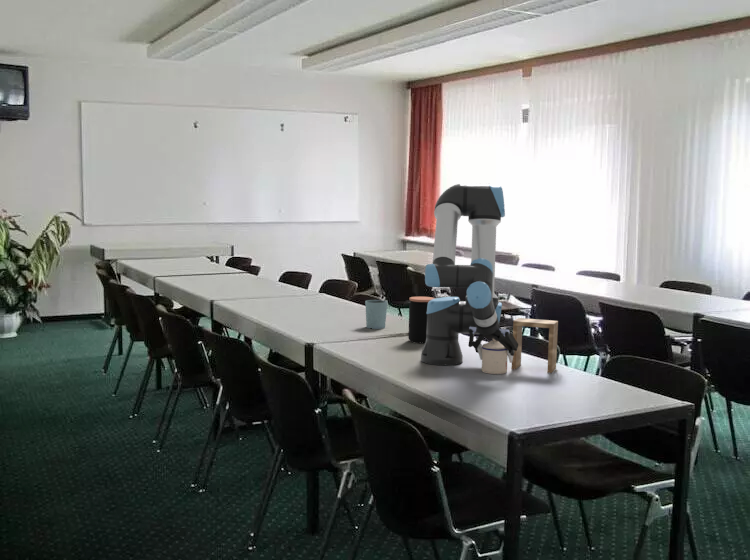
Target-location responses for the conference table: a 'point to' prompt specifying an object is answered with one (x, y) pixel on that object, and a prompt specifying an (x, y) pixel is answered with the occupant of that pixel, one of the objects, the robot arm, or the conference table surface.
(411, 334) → the coffee jar
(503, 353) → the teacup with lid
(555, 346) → the wooden arch
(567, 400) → the conference table surface
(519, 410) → the conference table surface
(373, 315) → the light blue cup
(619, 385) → the conference table surface
